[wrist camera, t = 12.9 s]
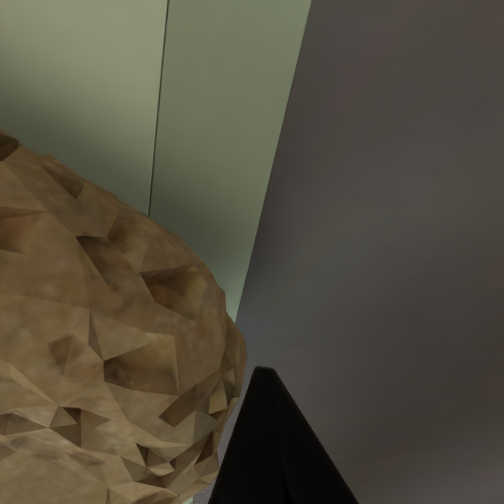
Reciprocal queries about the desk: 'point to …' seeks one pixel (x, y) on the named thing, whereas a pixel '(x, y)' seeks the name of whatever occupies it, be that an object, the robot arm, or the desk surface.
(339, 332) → the desk surface
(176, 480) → the sponge
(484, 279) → the desk surface
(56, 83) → the tray
